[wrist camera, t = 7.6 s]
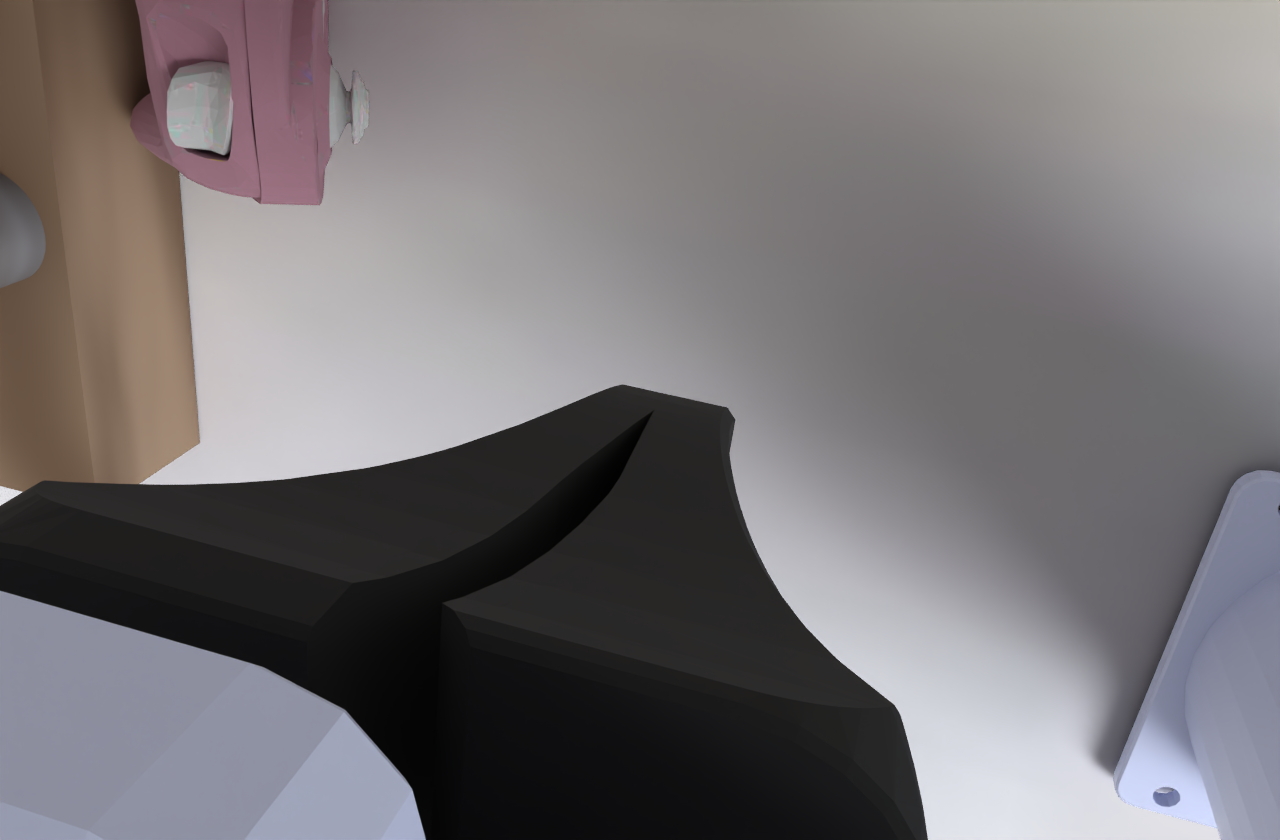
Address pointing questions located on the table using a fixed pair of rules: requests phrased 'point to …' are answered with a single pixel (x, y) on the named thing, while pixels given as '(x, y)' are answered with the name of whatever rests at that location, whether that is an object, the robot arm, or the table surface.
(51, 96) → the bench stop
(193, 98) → the video game controller
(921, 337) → the table surface
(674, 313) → the table surface
